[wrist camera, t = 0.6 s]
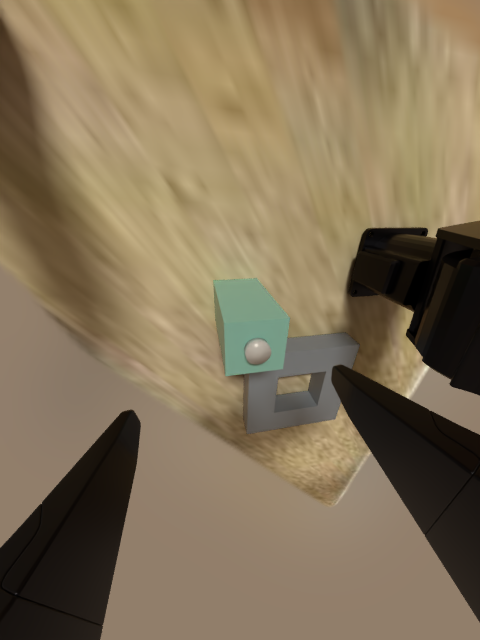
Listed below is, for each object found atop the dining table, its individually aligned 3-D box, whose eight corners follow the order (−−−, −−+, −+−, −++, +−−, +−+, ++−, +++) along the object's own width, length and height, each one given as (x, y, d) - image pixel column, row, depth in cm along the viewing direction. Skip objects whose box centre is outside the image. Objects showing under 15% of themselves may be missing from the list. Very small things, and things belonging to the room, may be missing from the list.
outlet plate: (345, 332, 25) (359, 344, 23) (325, 404, 31) (335, 419, 29) (244, 342, 23) (249, 356, 21) (242, 416, 29) (246, 434, 27)
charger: (256, 278, 20) (293, 322, 12) (254, 316, 22) (286, 375, 14) (213, 280, 19) (225, 328, 12) (215, 319, 21) (226, 382, 14)
